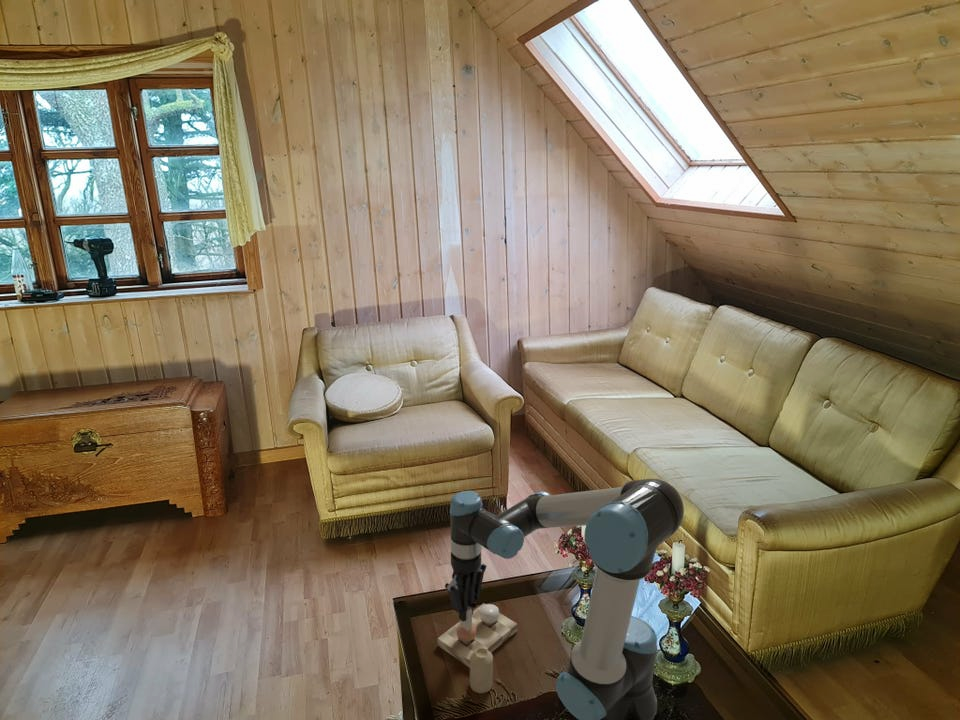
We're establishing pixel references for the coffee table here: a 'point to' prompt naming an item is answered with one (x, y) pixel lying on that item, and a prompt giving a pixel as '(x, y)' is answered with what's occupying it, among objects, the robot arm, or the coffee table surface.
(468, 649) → the cream compartment tray
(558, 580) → the coffee table surface
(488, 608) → the white round piece
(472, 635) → the pink light bulb
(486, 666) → the cream bottle
